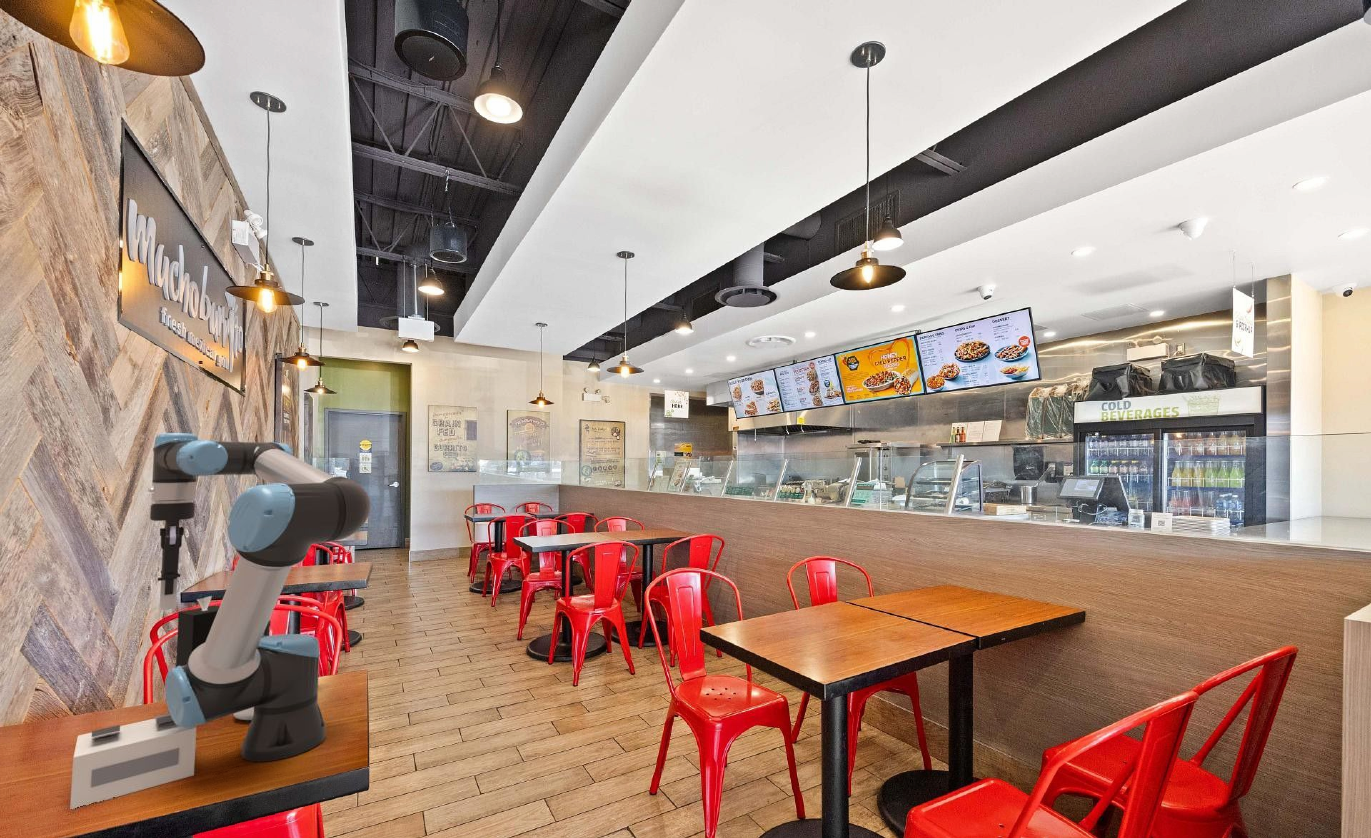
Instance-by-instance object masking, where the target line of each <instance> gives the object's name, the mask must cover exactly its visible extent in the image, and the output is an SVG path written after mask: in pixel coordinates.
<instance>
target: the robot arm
mask: <svg viewBox="0 0 1371 838" xmlns="http://www.w3.org/2000/svg"><path fill="white" fill-rule="evenodd" d="M152 452H153V457H152V458H153V462H152V478H151V479H152V482H151V483H152V487H148V490H147V492H149V493H151V492H152V493H151V501H152V502H154V503H152V504H151V505H150V515H149V520H151V521H153V522H157V521H158V522H162V521H164V527H163V528H162V527H161V528H159V536H160V548H161V550H162V557H161V571H160V574H161V575H160V577H157V582H159V581H160V590H159V609H158V610H159V611H167V610H175V609H176V607H177V594H178V593H177V592H178V590H177V589H178V578H181V573H179V572H178V571H179V560H180V548H181V547H182V546H183V545H182V541H183V536H184V533H185V527H184V526H180V521H182V520H190V519H193V518H194V517H195V507H196V505H195V504H196V503H194V500H195V499H197V498H196V496H197V494H196V493H197V477H202V476H203V477H207V476H227V475H228V476H231V475H232V476H234V475H236V476H238V475H239V476H242V475H250V476H251V475H255V477H258V478H260V479H262V480H264V481H265V482H266V483H268V484H259V485H255V486H251V487H249V488H247V489H245V490H244V491H243V492H242V493H241V494H240V495H239V496H238V497H237V498H236V500H235V501H234V502H233V503H234V504H233V505H232V507H231V509H230V512H229V515H228V521H229V524H228V525H227V535H228V539H229V542H230V544H231V545H232V547H233V548H234V551H235V552H236V554H237V556H239V557H238V560H237V563H236V565H235V568H234V571H233V572H232V574H231V578H230V580H229V583H228V585H227V588H226V590H225V593H224V595H223V598H222V600H221V603H220V605H219V606H220V607H219V610H218V612H217V615H216V617H215V620H214V622H213V625H212V627H211V630H210V632H209V635H208V637H207V640H206V642H205V643H203V644H201V645H200V646H198V647H197V648H196V649H195V650H194V651H193V652H192V654H191V655H190V657H189V660H188V662H187V665H184V666H177V667H176V666H175V667H173V668H171V669H170V670H168V671H167V674H166V675H165V676H166V677H165V681H164V694H165V695H164V696H165V701H166V706H167V710H168V713H170V716H171V718H172V720H173V721H174V723H175V724H176V725H177V726H179V727H183V728H188V727H192V726H196V727H197V726H199V725H206V724H207V723H210V722H213V721H216V720H219V719H222V718H225V717H228V716H230V715H233V714H234V713H237V712H240V711H243V710H246V709H249V708H252V707H254V714H253V718H252V720H250V723H249V726H248V729H247V732H246V736H245V737H244V739H243V741H242V742H241V743H242V744H241V757H242V758H243V759H244V760H246V761H251V762H271V761H277V760H282V759H287V758H290V757H293V756H297V755H300V754H303V753H305V752H307V751H310V750H311V749H313V748H314V749H315V747H317V746H318V745H320V744H322V742H323V741H324V740H325V739H326V729H327V727H326V723H325V721H324V718H323V713H322V712H321V708H320V705H319V704H318V703H319V702H318V697H319V695H318V693H319V692H318V691H319V672H320V671H319V669H320V667H319V665H320V658H321V655H320V644H319V640H318V638H317V637H315V636H313V635H309V634H302V633H285V634H284V633H283V634H272V635H269V636H266V637H262V636H263V633H264V631H265V629H266V626H267V624H268V622H269V620H271V616H272V614H273V612H274V609H275V608H276V604H277V603H278V600H279V598H280V595H281V594H282V590H283V588H284V587H285V584H286V581H287V579H288V577H289V574H290V572H291V570H292V567H295V566H296V565H298V564H301V562H303V561H304V560H305V559H306V557H307V555H308V552H309V550H310V549H311V546H312V545H317V544H323V543H331V542H337V541H341V540H343V539H347V538H349V537H351V536H352V535H354V534H355V533H357V532H358V531H359V530H360V529H361V528H362V527H363V526H364V525H365V523H366V522H367V520H368V517H369V516H370V511H371V500H370V496H369V494H368V492H367V491H366V490H365V488H364V487H363V486H361V484H359V483H357V482H355V481H353V480H352V479H349V477H348V478H347V477H345V476H342V475H340V476H338V475H337V476H333V475H331V474H329V473H327V472H325V471H322V470H321V469H319V468H317V467H315V466H314V465H312V464H309V463H307V462H305V461H303V460H301V459H300V458H297V457H296V456H295V455H294V451H293V450H292V449H291V446H290V445H288V444H287V443H281V442H273V441H269V442H256V441H255V442H252V441H249V442H248V441H244V442H243V441H217V440H216V441H213V440H209V439H205V440H203V439H199V438H198V436H197V435H196V434H194V433H186V432H184V433H178V432H176V433H175V432H169V433H168V432H167V433H166V432H165V433H164V432H163V433H159V434H157V435H156V436H155V438H154V444H153V447H152Z"/></svg>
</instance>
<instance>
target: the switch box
mask: <svg viewBox="0 0 1371 838" xmlns="http://www.w3.org/2000/svg"><path fill="white" fill-rule="evenodd" d="M155 719H156V717H155V718H151V719H146V720H142V721H138V722H132V723H129V724H124V725H120V731H117V732H112V733H108V734H104V735H99V736H95V737H92V732H89V733H84V734H78V735H77V739H76V744H75V749H74V753H73V760H72V775H71V790H70V804H69V805H70V806H69V807H70V808H69V810H70V811H72V810H75V808H76V809H78V808H77V807H79V808H81V807H80V806H83V805H86V806H89V804H90V805H92V804H91V803H93V802H97V803H100V801H101V802H103V800H104V801H107V800H111V799H114V798H113V797H115V798H118V797H123V796H125V795H128V794H133V793H136V792H140V791H143V790H146V789H149V788H153V787H154V788H155V787H158V786H160V785H165V784H167V783H172V782H174V781H175V782H176V781H179V780H182V779H185V778H189V777H193V776H194V775H195V763H196V762H195V760H196V739H197V725H196V726H192V727H188V728H183V727H179V726H177V725H176V724H175V723H174V721H173V720H171V721H167V722H162V723H158V724H156V722H155ZM83 807H84V806H83ZM71 809H72V810H71Z"/></svg>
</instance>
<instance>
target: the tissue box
mask: <svg viewBox="0 0 1371 838" xmlns="http://www.w3.org/2000/svg"><path fill="white" fill-rule="evenodd" d="M212 597H213V595H209V596H205V597H204V598H202V597H201V598H198V599H196V601H197V602H198V604H199V606H200V607H199V608H193V609H186V610H182V611H178V614H177V621H178V622H177V623H178V624H177V639H176V658H175V660H176V661H175V668H176V667H177V666H184V665H187V662H188V660H189V657H190V655H191V654H192V652H193V651H194V650H195V649H196V648H197V647H198V646H200V645H201V644H203V643H205V642H206V640H207V637H208V635H209V632H210V630H211V627H212V625H213V622H214V620H215V617H216V615H217V612H218V610H219V607H220V605H215V604H214V605H210V603H211V600H212Z"/></svg>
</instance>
